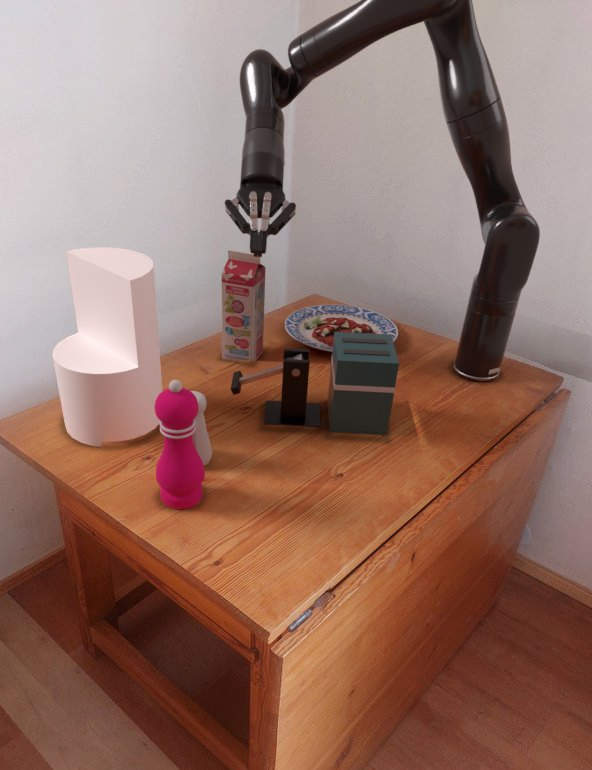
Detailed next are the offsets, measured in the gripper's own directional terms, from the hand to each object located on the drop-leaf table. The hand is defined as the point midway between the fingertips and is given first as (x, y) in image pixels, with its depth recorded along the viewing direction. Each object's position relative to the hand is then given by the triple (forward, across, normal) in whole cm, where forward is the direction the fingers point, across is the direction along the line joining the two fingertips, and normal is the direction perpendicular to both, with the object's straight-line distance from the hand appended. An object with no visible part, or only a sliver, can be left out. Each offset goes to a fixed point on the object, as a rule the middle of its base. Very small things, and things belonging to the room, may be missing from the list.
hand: (257, 254), depth 109 cm
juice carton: (+9, -3, +29) cm, 30 cm away
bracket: (+26, +7, +11) cm, 29 cm away
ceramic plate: (0, +18, +38) cm, 42 cm away
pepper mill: (+43, -9, -5) cm, 44 cm away
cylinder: (+28, -24, +9) cm, 38 cm away
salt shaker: (+37, -8, 0) cm, 38 cm away
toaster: (+26, +19, +11) cm, 34 cm away
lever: (+20, +3, +6) cm, 21 cm away
